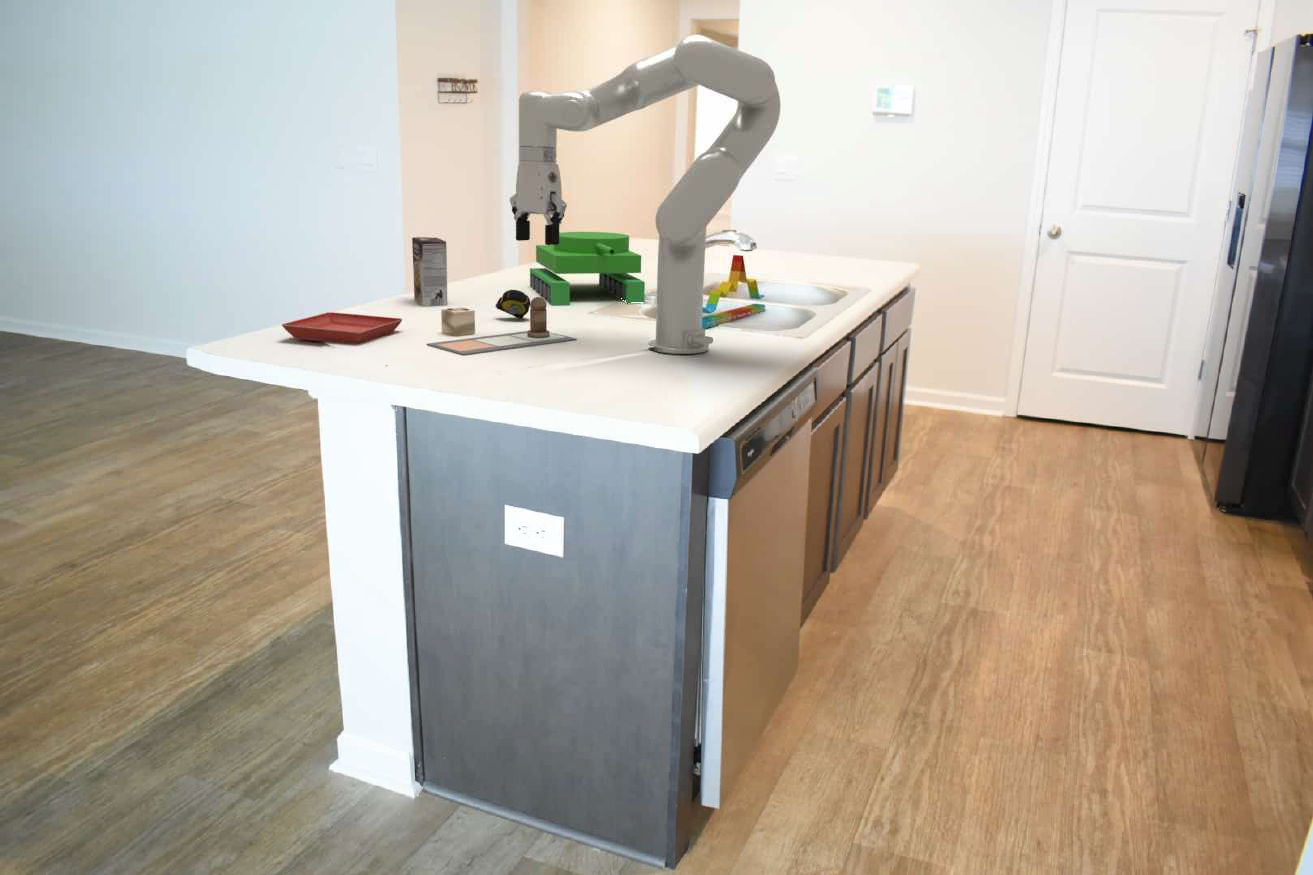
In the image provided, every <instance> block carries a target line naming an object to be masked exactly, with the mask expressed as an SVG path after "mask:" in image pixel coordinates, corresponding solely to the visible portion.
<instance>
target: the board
mask: <svg viewBox="0 0 1313 875" xmlns="http://www.w3.org/2000/svg"><path fill="white" fill-rule="evenodd" d="M527 331H528V330H524V331H518V332H509V333H502V334H494V335H493V334H492V335H486V336H485V335H484V336H477V337H471V338H469V337H468V338H462V339H461V338H460V339H454V340H446V341H438V342H437V341H436V342H431V343H430V342H429V343H426V346H429V347H432V348H435V349H440V350H443V351H446V352H450V353H454V354H456V355H460V356H470V355H477V354H484V353H493V352H500V351H506V350H513V349H520V348H521V349H523V348H529V347H535V346H541V345H551V344H556V343H557V344H558V343H563V342H565V343H566V342H572V341H577V338H576V337H573V336H572V337H571V336H567V335H563V334H559V333H555V332H551V331H549V337H547V338H530V337H528V336H527Z"/></svg>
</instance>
